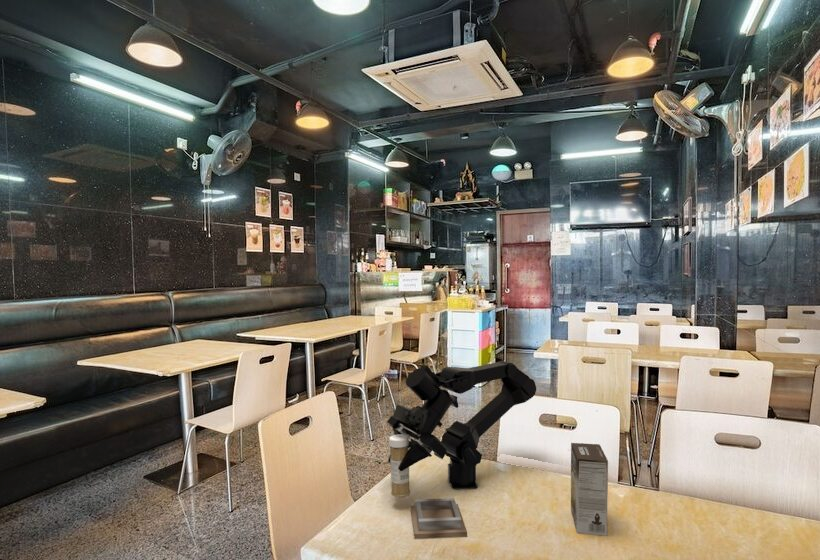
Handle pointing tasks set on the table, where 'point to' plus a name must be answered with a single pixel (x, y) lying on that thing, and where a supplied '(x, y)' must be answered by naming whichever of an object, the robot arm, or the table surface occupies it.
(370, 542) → the table surface
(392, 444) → the sprinkles bottle
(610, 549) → the table surface
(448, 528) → the socket board
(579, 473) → the coffee box
